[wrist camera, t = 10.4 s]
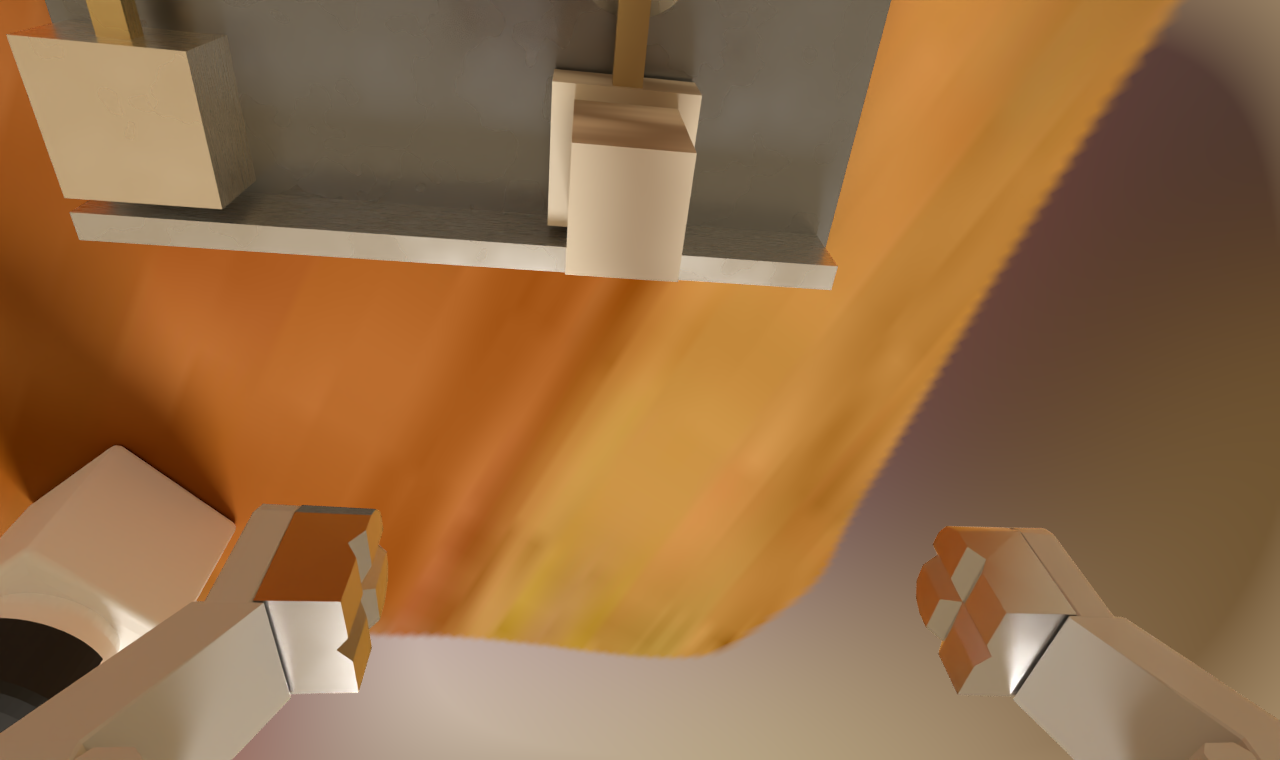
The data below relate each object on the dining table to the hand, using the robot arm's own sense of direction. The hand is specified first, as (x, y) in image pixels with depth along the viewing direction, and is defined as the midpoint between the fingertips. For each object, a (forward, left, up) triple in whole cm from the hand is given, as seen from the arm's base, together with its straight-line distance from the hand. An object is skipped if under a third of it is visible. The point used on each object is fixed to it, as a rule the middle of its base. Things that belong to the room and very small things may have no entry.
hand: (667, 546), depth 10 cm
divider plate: (-5, -3, -21) cm, 22 cm away
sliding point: (-2, +1, -20) cm, 20 cm away
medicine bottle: (+7, -31, -21) cm, 38 cm away
